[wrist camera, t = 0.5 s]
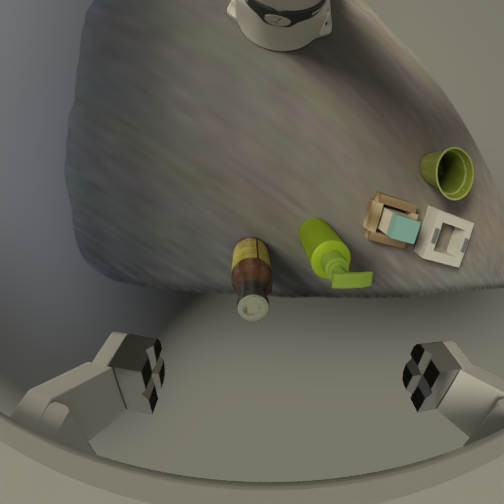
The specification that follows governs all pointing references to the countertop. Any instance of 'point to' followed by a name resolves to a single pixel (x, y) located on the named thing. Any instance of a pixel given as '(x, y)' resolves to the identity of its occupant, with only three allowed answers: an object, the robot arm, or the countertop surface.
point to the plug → (398, 225)
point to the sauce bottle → (251, 278)
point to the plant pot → (449, 172)
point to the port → (431, 233)
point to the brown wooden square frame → (375, 213)
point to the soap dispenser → (330, 255)
